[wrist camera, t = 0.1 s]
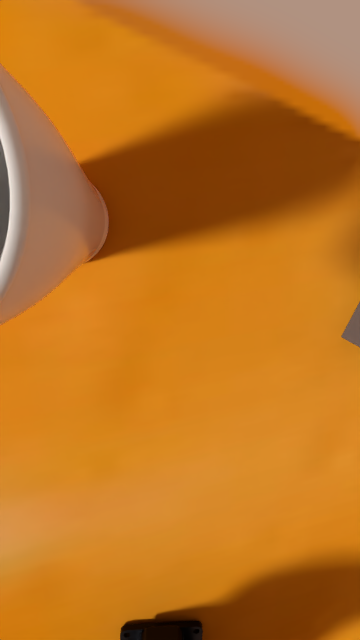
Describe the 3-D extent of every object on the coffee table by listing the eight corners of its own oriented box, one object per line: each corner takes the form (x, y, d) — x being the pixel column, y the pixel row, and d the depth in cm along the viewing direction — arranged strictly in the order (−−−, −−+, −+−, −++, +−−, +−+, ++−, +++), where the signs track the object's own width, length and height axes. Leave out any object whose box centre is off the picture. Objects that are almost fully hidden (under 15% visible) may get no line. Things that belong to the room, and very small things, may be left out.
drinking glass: (-1, 152, 19) (-551, -140, 4) (123, 161, 19) (19, -71, 5) (7, 275, 20) (-371, 376, 6) (122, 281, 21) (40, 385, 6)
